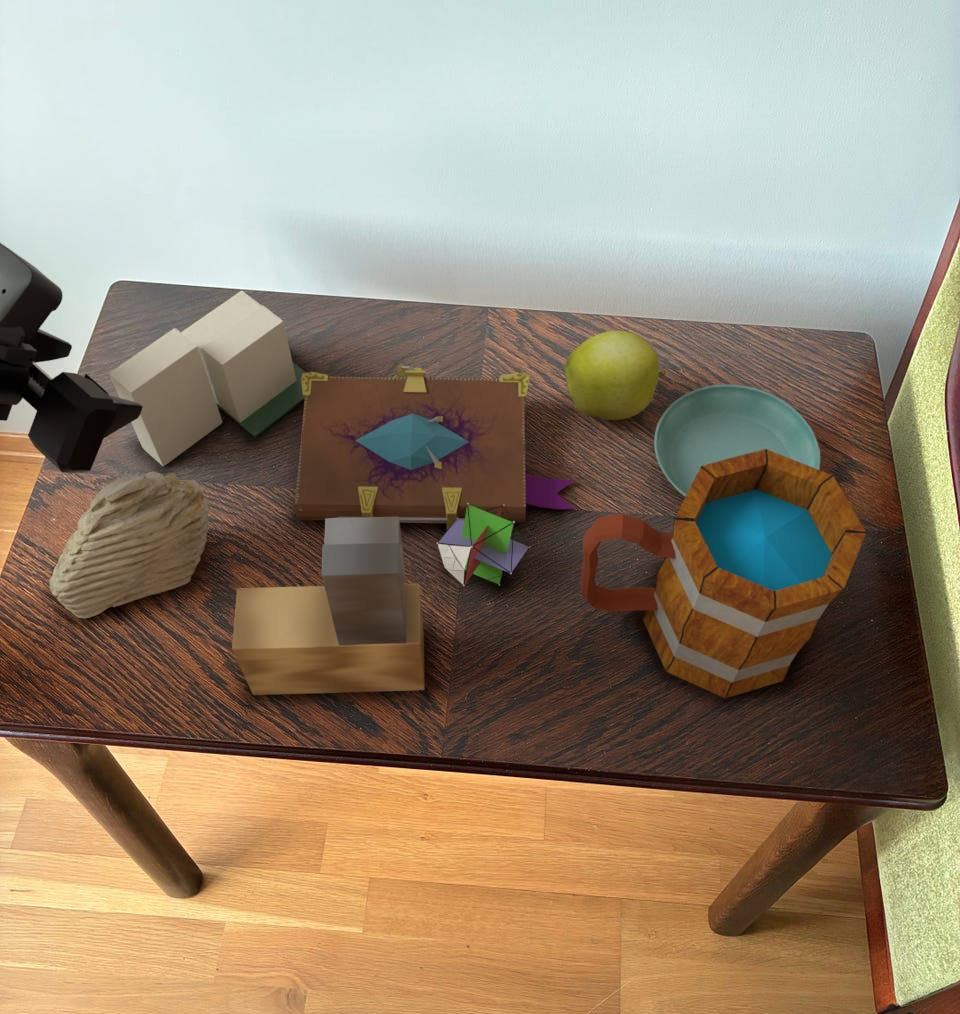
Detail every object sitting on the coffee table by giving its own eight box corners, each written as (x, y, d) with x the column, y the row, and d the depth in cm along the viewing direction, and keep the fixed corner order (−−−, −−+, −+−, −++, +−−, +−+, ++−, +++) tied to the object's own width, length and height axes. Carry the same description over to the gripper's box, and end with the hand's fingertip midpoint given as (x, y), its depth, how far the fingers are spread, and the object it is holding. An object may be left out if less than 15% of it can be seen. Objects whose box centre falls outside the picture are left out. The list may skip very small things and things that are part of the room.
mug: (799, 561, 88) (858, 455, 75) (809, 704, 82) (876, 616, 69) (572, 545, 89) (591, 436, 75) (565, 685, 83) (585, 594, 69)
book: (575, 537, 90) (580, 508, 85) (295, 534, 90) (285, 504, 85) (569, 387, 97) (574, 352, 92) (309, 384, 97) (301, 349, 92)
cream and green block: (254, 438, 94) (237, 378, 87) (185, 379, 97) (162, 317, 90) (322, 386, 96) (310, 325, 89) (252, 331, 100) (236, 268, 92)
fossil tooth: (58, 583, 88) (218, 508, 90) (79, 639, 85) (243, 561, 87) (-11, 508, 78) (171, 425, 80) (9, 569, 75) (198, 481, 77)
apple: (668, 428, 95) (684, 369, 88) (573, 446, 94) (582, 387, 87) (642, 365, 98) (656, 303, 91) (551, 382, 97) (558, 320, 90)
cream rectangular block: (163, 467, 92) (130, 392, 83) (142, 448, 93) (108, 373, 84) (223, 422, 94) (197, 345, 86) (202, 405, 95) (175, 327, 86)
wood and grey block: (252, 695, 82) (199, 580, 66) (257, 637, 84) (206, 512, 68) (424, 690, 82) (414, 574, 66) (423, 633, 85) (413, 507, 68)
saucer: (828, 529, 90) (837, 512, 87) (662, 537, 89) (667, 521, 87) (793, 398, 96) (801, 379, 94) (639, 405, 96) (643, 386, 94)
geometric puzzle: (474, 490, 89) (448, 488, 81) (546, 519, 87) (526, 519, 80) (445, 567, 90) (417, 572, 82) (516, 596, 89) (494, 604, 81)
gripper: (40, 324, 63) (218, 352, 76) (-126, 180, 68) (67, 229, 82) (-14, 476, 67) (163, 477, 81) (-166, 329, 73) (23, 352, 86)
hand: (103, 380), depth 82 cm, fingers open, 9 cm apart
